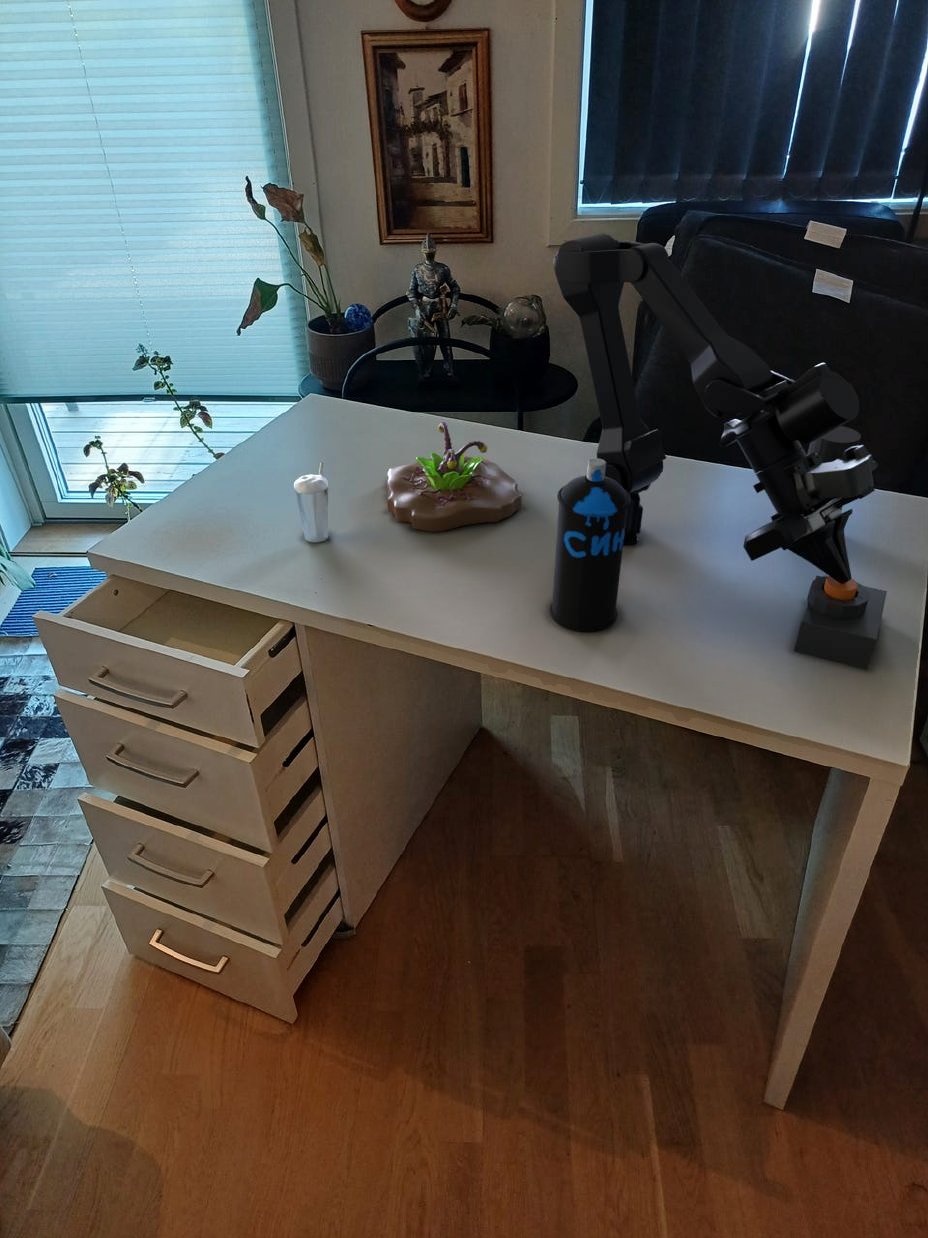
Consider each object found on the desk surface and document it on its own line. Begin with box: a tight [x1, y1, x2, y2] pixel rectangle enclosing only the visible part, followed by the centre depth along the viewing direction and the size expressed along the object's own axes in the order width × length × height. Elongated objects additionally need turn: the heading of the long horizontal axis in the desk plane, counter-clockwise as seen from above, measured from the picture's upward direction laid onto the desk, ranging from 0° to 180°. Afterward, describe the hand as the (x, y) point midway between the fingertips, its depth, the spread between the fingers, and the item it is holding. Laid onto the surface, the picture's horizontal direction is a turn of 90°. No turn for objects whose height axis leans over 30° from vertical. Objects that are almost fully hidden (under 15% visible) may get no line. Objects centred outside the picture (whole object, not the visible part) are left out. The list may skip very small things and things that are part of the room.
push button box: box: [793, 575, 888, 671], centre depth 104 cm, size 11×8×6 cm
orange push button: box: [823, 575, 858, 600], centre depth 103 cm, size 3×3×2 cm
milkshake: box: [293, 462, 329, 544], centre depth 123 cm, size 4×5×10 cm
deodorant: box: [801, 425, 862, 515], centre depth 122 cm, size 6×6×15 cm
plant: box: [386, 421, 522, 533], centre depth 132 cm, size 20×20×11 cm
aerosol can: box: [549, 457, 631, 633], centre depth 104 cm, size 8×8×20 cm
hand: (846, 581), depth 102 cm, fingers closed, pressing on orange push button
